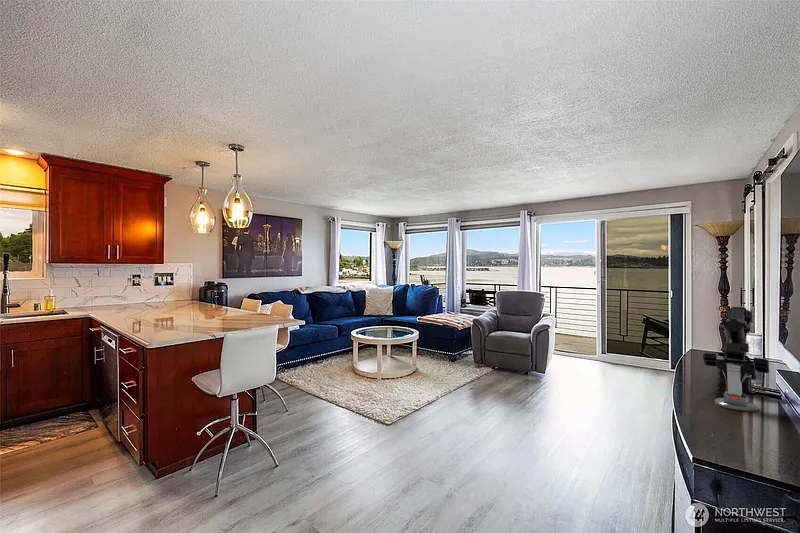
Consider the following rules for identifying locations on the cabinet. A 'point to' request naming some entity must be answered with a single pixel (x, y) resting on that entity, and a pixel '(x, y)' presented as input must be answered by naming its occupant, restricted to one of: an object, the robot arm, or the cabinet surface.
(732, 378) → the column
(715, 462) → the cabinet surface
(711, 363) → the robot arm
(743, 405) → the stand base
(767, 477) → the cabinet surface
